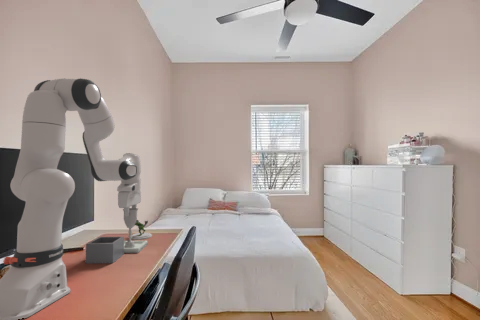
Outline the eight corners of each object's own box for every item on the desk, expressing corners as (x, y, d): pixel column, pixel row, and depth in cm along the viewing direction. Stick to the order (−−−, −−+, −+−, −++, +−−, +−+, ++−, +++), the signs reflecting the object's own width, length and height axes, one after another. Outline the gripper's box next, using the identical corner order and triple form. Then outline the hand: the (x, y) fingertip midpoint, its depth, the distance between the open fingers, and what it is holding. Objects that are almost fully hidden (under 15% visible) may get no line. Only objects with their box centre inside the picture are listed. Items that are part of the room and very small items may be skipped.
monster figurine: (125, 237, 146) (125, 219, 146) (144, 233, 155) (144, 216, 156) (137, 241, 139) (137, 222, 139) (156, 236, 148) (156, 218, 148)
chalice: (118, 247, 123) (119, 209, 124) (129, 243, 130) (130, 207, 130) (130, 248, 121) (130, 210, 121) (140, 245, 127) (141, 208, 127)
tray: (138, 252, 119) (138, 248, 119) (110, 253, 118) (110, 248, 118) (147, 244, 132) (147, 240, 132) (121, 244, 131) (121, 240, 131)
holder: (112, 263, 106) (113, 243, 106) (85, 263, 105) (86, 243, 105) (123, 254, 117) (124, 236, 117) (99, 254, 116) (99, 236, 116)
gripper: (132, 185, 136) (131, 211, 136) (115, 188, 116) (114, 218, 115) (144, 185, 137) (143, 211, 136) (129, 188, 116) (128, 218, 116)
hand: (130, 214), depth 126 cm, fingers closed on chalice, 6 cm apart
